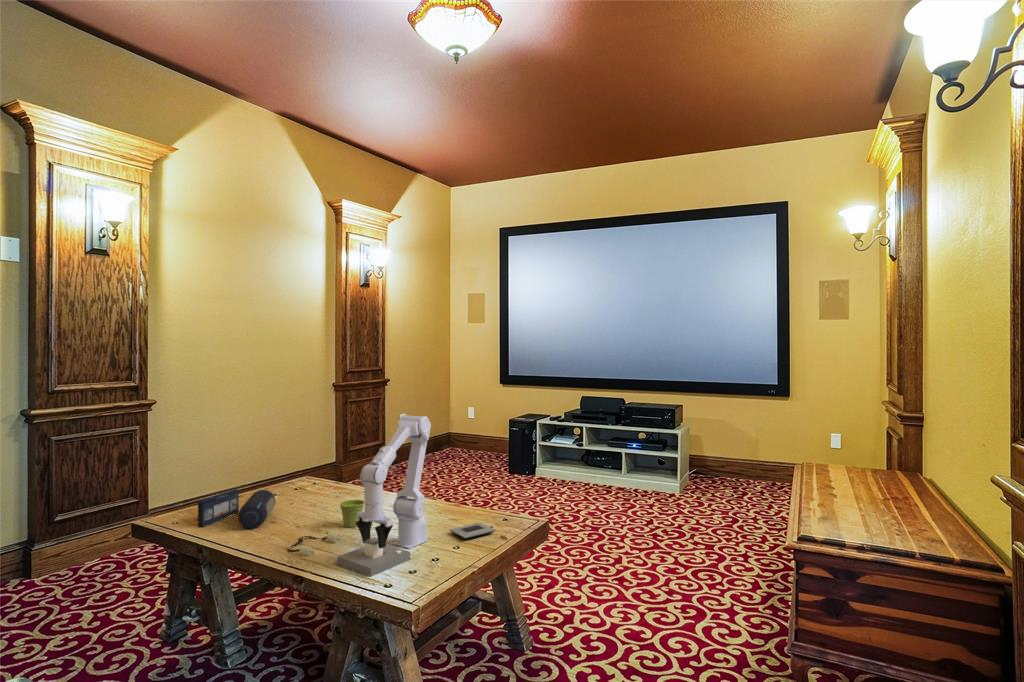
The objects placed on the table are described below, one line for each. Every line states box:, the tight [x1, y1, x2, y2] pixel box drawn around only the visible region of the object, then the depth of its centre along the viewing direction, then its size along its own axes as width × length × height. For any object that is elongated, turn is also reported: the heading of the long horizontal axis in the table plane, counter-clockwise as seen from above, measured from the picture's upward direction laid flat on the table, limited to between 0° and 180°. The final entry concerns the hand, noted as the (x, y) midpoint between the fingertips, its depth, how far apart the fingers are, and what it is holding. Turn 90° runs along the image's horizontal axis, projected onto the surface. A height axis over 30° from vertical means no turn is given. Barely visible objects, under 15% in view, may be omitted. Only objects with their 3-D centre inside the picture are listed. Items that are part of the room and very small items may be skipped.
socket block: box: [336, 544, 411, 577], centre depth 180 cm, size 16×16×3 cm
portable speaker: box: [237, 489, 276, 529], centre depth 223 cm, size 25×10×10 cm, turn 12°
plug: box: [364, 536, 383, 559], centre depth 180 cm, size 4×4×7 cm
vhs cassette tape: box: [197, 488, 240, 528], centre depth 224 cm, size 18×3×10 cm, turn 162°
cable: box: [286, 532, 341, 557], centre depth 195 cm, size 16×16×4 cm
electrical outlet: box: [449, 521, 497, 540], centre depth 206 cm, size 13×10×2 cm
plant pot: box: [338, 499, 365, 528], centre depth 216 cm, size 9×9×9 cm
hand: (374, 544), depth 181 cm, fingers open, 7 cm apart
